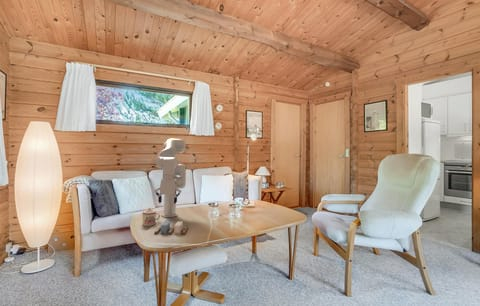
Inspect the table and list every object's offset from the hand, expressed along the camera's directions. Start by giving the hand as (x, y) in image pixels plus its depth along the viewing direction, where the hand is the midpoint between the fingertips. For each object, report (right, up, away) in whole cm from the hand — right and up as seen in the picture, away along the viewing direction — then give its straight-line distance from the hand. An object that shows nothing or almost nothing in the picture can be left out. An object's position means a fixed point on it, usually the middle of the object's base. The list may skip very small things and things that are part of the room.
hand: (167, 203), depth 156 cm
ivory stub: (+7, -18, -1) cm, 20 cm away
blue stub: (-1, -18, -2) cm, 18 cm away
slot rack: (+3, -19, -1) cm, 19 cm away
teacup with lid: (-16, -18, +15) cm, 29 cm away
